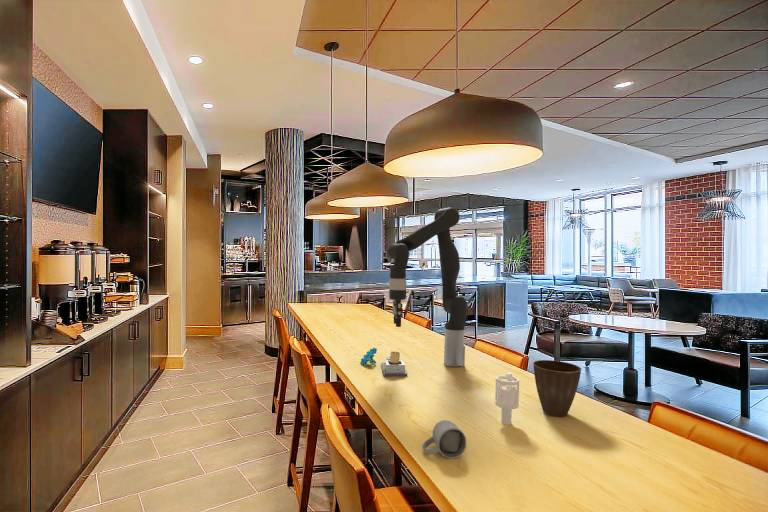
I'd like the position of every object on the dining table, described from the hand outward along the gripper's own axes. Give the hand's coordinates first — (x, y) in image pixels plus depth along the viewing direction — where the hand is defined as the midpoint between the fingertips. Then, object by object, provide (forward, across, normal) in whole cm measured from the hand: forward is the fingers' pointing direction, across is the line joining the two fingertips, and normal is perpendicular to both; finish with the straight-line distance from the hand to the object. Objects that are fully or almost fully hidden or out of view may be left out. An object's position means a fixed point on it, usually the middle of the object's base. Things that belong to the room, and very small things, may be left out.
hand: (397, 325), depth 184 cm
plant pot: (+22, -49, -48) cm, 72 cm away
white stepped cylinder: (+21, -56, -28) cm, 67 cm away
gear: (+21, +13, +12) cm, 27 cm away
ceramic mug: (+21, -75, -4) cm, 78 cm away
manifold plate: (+21, +2, +1) cm, 21 cm away
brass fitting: (+20, -2, +1) cm, 20 cm away
